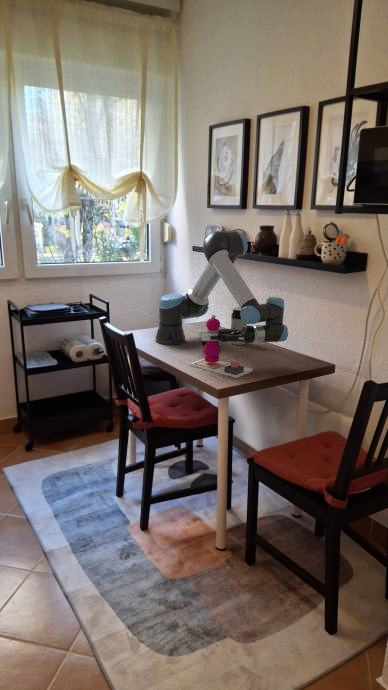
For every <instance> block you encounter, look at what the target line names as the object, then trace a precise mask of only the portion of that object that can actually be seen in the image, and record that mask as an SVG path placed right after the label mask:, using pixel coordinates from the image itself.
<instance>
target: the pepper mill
mask: <svg viewBox="0 0 388 690" xmlns="http://www.w3.org/2000/svg"><path fill="white" fill-rule="evenodd" d="M205 326H206V328H207V330H206V331H207V333H208V334H218V333H219V330H218V329H220V328H221V322H220V320H219V319H218V318H216V315H215V314H212V315H211V318H209V319H207V321H206V323H205ZM203 353H204V358H205V361H206V362H218V361H220V356H219V355H220V354H221V346H220V344H219V341H218V340H217V341H206V342H205V345H204V347H203Z"/></svg>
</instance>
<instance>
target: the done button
mask: <svg viewBox="0 0 388 690" xmlns="http://www.w3.org/2000/svg"><path fill="white" fill-rule="evenodd" d="M229 363H230V368H233V369H237V368H239V366H240V363H239V362H238V361H230V362H229Z"/></svg>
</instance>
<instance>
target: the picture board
mask: <svg viewBox="0 0 388 690" xmlns="http://www.w3.org/2000/svg"><path fill="white" fill-rule="evenodd" d="M189 364H190V365H189V366H190V367H195V368H197V369H202V370H204V371H209V372H213V373H217V374H221V375H223V376H226V377H227V376H228V377H232V378H235V379H237V378H240V377H242V376H245V375H246V374H249V373H252V372H253V371H254V370H253V368H250V367H246V366H243V365H239V368H237V369H233V368H230V362H227V361H222V360H219V361H218V362H206V361H205V357H204V358H202V359H198V360H196V361H193V362H190V363H189Z"/></svg>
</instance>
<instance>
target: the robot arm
mask: <svg viewBox="0 0 388 690" xmlns="http://www.w3.org/2000/svg"><path fill="white" fill-rule="evenodd" d="M202 247H203V249H202V250H203V254H204V257H205V259H206V261H207V262H208V263H207V265H206V266H205V268H204V270H203V271H202V273H201V275H200V277H199V278H198V280H197V281H196V283H195V285H194V286H193V287H191V288H189V289H188V290H187V292H186V294H185V295H183V294H182V293H181V294H180V293H168V294H164V295H163V296H161V297H160V299H159V304H158V307H159V309H158V310H159V312H158V313H159V314H158V315H159V316H158V321H159V323H158V325H159V326H158V329H157V332H156V335H155V342H156V343H158V344H162V345H171V346H172V345H173V346H175V345H176V346H177V345H181V344H184V343H185V342H186V335H185V331H184V328H183V320H187V319H195V318H200V317H202V316H205V315H206V314H207V312H208V310H209V308H210V306H209V305H210V301H209V296H210V294H211V293H212V291H213V290H214V288H215V286H216V285H217V284H218V282H219V281H220V279H221V280H222V281H223V283H224V285H225V286H226V288H227V289H228V291H229V293H230V294H231V295H232V297H233V299H234V300H235V302H236V303H237V305H238V307H240V308H241V312H240V316H241V320H242V321H243V322H244V323H246V324H247V326H243V328H242V330H239V329H234V328H232V329H231V328H219V329H218V330H219V333H218V334H208V333H207V330H199V331H198V338H201V341H202V342H207V341H217V340H218V342H220V343H221V342H222V343H227V342H230V341H242V342H244V343H246V344H253V343H255V344H256V343H257V344H259V345H260V343H278V342H279V343H280V342H281V343H282V342H285V341H286V340H287V339H288V337H289V329H288V327H287V325H285V324H284V323H283V322H284V314H285V313H284V312H285V300H284V298H281V297H278V296H271V297H268V298H267V299H266V301H265V303H261V304H260V303H259V301H258V300H257V299H256V297H255V296H254V294H253V293H252V291H251V289H250V288H249V286H248V284H247V283H246V282H245V280H244V279H243V277H242V276H241V274H240V272H239V271H238V269H237V268H236V266H235V261H236V260H237V259H238V258H239V257H240V258H241V257H243V256H244V255H246V254H247V251H248V248H249V245H248V239H247V236H246V235H245V233H243V232H241V231H237V230H222V231H221V230H216V231H213V232H210V233H209V234H208V235H207V236H206V237H205V239H204V242H203V246H202ZM259 323H265V324H259Z"/></svg>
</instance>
